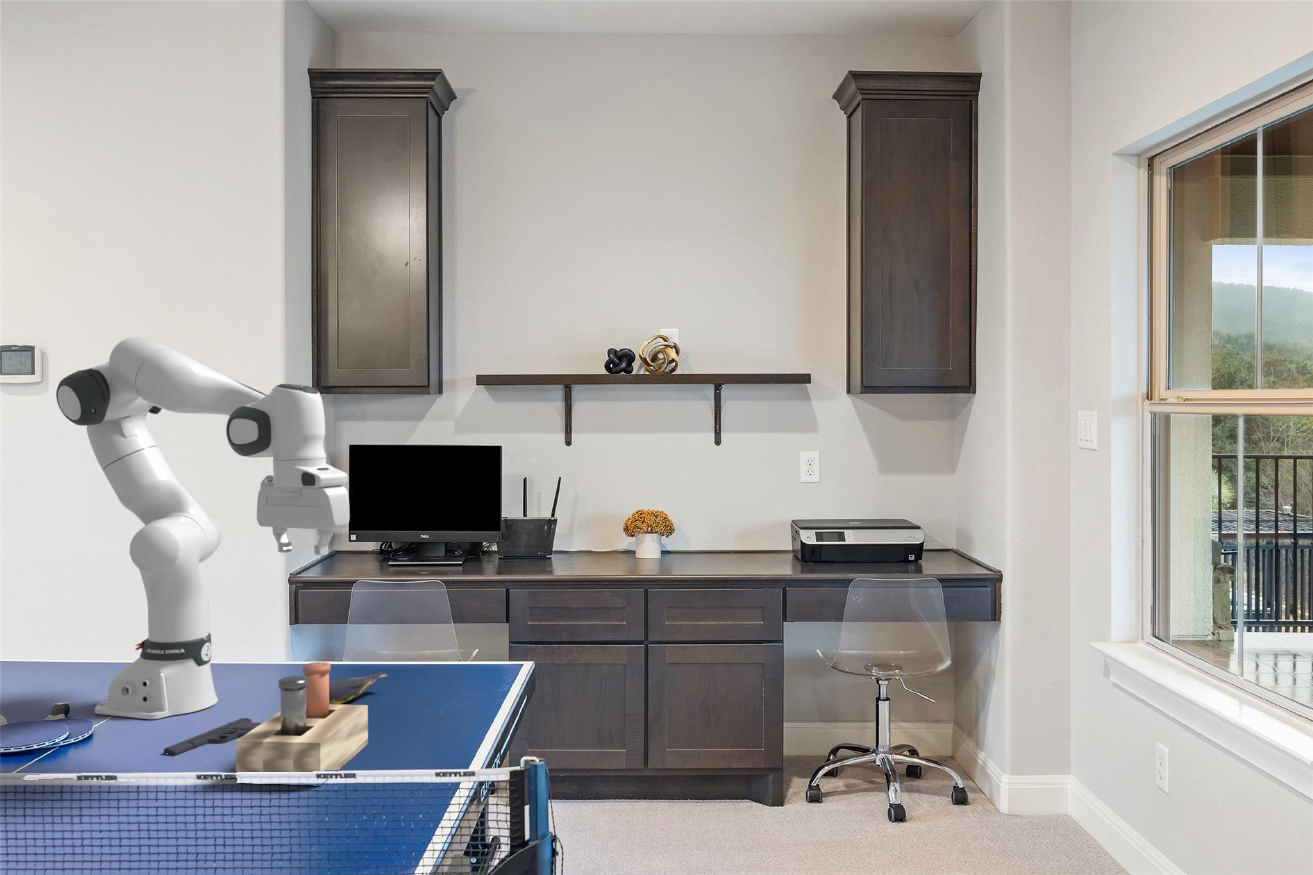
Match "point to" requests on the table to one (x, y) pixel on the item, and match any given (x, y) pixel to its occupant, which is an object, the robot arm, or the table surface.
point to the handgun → (214, 736)
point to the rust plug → (317, 689)
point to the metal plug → (293, 705)
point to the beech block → (305, 743)
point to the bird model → (350, 687)
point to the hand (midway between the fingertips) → (302, 553)
